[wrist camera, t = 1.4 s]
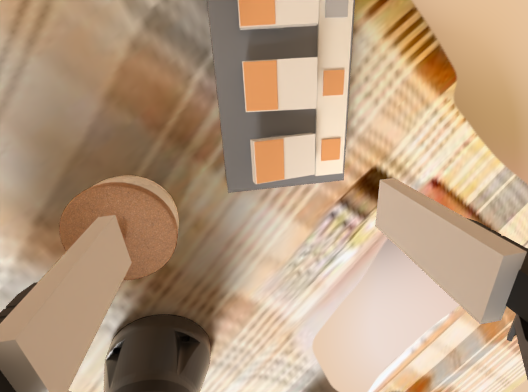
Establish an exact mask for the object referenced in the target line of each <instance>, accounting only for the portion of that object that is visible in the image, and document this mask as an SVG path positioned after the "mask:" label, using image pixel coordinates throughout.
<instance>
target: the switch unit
mask: <svg viewBox="0 0 528 392" xmlns="http://www.w3.org/2000/svg"><path fill="white" fill-rule="evenodd" d="M207 5H208V14H209V23H210V32H211V41H212V51H213V60H214V69H215V78H216V88H217V97H218V106H219V115H220V124H221V134H222V143H223V152H224V161H225V171H226V180H227V187H228V193H230V192H239V191H248V190H257V189H267V188H276V187H285V186H294V185H304V184H313V183H322V182H331V181H340V180H344V164H345V149H346V133H347V117H348V102H349V86H350V70H351V55H352V39H353V23H354V8H355V0H319V23H318V24H317V25H316V26H301V27H284V28H268V29H251V30H240V26H239V13H238V0H207ZM308 57H318V69H317V109H298V110H279V111H260V112H246V109H245V95H244V81H243V68H242V61H256V60H273V59H291V58H308ZM304 133H314V134H316V137H315V175H309V176H303V177H297V178H291V179H285V180H279V181H273V182H267V183H261V184H255V183H254V182H253V175H252V160H251V146H250V140H251V139H260V138H268V137H277V136H286V135H295V134H304Z"/></svg>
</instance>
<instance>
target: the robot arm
mask: <svg viewBox="0 0 528 392" xmlns="http://www.w3.org/2000/svg"><path fill="white" fill-rule="evenodd" d="M375 226H376V227H377V228H378V229H379V230H380V231H381V232H382V233H383V234H384V235H385V236H386V237H387V238H389V239H390V240H391V241H392V242H393V243H394V244H395V245H396V246H397V247H398V248H399V249H400V250H402V252H404V253H405V254H406V255H407V256H408V257H409V258H410V259H411V260H412V261H413V262H414V263H415V264H416V265H418V267H420V268H421V269H422V270H423V271H424V272H425V273H426V274H427V275H428V276H429V277H430V278H431V279H432V280H433V281H434V282H436V283H437V284H438V285H439V286H440V287H441V288H442V289H443V290H444V291H445V292H446V293H447V294H448V295H449V296H451V297H452V298H453V299H454V300H455V301H456V302H457V303H458V304H459V305H460V306H461V307H462V308H463V309H464V310H465V311H467V312H468V313H469V314H470V315H471V316H472V317H473V318H474V319H475V320H476V321H477V322H478V323H479V324H485V323H490V322H495V321H500V320H501V319H502V316H503V314H504V311H505V308H506V306H507V307H509V308H510V309H511V310H512V311H514V312H515V313H516V316H515V318H514V321H513V323H512V326H511V328H510V331H509V333H508V336H507V340H508V341H512V339H513V337H514V336H515V335H517V338H518V344H519V346H520V351H521V355H522V359H523V363H524V367H525V371H526V375H527V379H528V249H527V248H525V247H523V246H521V245H520V244H518V243H516V242H514V241H512V240H510V239H509V238H507V237H505V236H501V234H499V233H497V232H496V231H494V230H491V229H490V228H488V227H486V226H485V225H483V224H481V223H479V222H477V221H474V220H471V219H468V218H465V217H463V216H461V215H459V214H458V213H456V212H454V211H452V210H450V209H449V208H447V207H445V206H443V205H441V204H440V203H438V202H436V201H434V200H432V199H431V198H429V197H427V196H425V195H423V194H422V193H420V192H418V191H416V190H414V189H413V188H411V187H409V186H407V185H405V184H404V183H402V182H400V181H398V180H396V179H395V178H391V179H383V180H380V185H379V195H378V205H377V215H376V225H375ZM131 263H132V262H131V259H130V256H129V254H128V251H127V248H126V245H125V242H124V239H123V236H122V233H121V230H120V227H119V224H118V221H117V219H116V216H115V215H111V216H103V217H98V218H97V219H96V220H95V221H94V222H93V223H92V224H91V225H90V226H89V228H88V229H87V230H86V231H85V232H84V233H83V234H82V235H81V236H80V237H79V238H78V240H77V241H76V242H75V243H74V244H73V245H72V246H71V247H70V248H69V249H68V250H67V252H66V253H65V254H64V255H63V256H62V257H61V258H60V259H59V260H58V261H57V262H56V263H55V265H54V266H53V267H52V268H51V269H50V270H49V271H48V272H47V273H46V274H45V275H44V277H43V278H42V279H41V280H40V281H39V282H37V283H33V284H32V285H31V286H29V287H28V288H26V289H25V290H23V291H22V292H21V293H19V294H18V295H17V296H16V297H15V298H14V299H13V300H12V301H11V302H10V303H9V304H8V305H7V306H6V309H3V310H2V311H1V312H0V392H71V391H68V389H69V387H70V385H71V383H72V381H73V379H74V377H75V375H76V373H77V371H78V369H79V367H80V365H81V363H82V361H83V359H84V357H85V355H86V353H87V351H88V349H89V347H90V345H91V343H92V341H93V339H94V337H95V335H96V333H97V331H98V329H99V327H100V325H101V323H102V321H103V319H104V317H105V315H106V313H107V311H108V309H109V307H110V305H111V303H112V301H113V299H114V297H115V295H116V293H117V291H118V289H119V287H120V285H121V283H122V281H123V279H124V277H125V275H126V273H127V271H128V269H129V267H130V265H131ZM209 364H210V340H209V338H208V336H207V334H206V332H205V331H204V330H203V329H202V328H201V327H200V326H199V325H197V324H196V323H194V322H193V321H191V320H188V319H186V318H183V317H179V316H173V315H155V316H149V317H145V318H141V319H139V320H136V321H134V322H132V323H130V324H128V325H127V326H125V327H124V328H123V329H121V330H120V331H119V332H118V333H117V335H116V336H115V337H114V339H113V341H112V343H111V345H110V348H109V350H108V353H107V355H106V359H105V368H104V392H200V390H201V388H202V385H203V382H204V379H205V376H206V374H207V371H208V368H209Z"/></svg>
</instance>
